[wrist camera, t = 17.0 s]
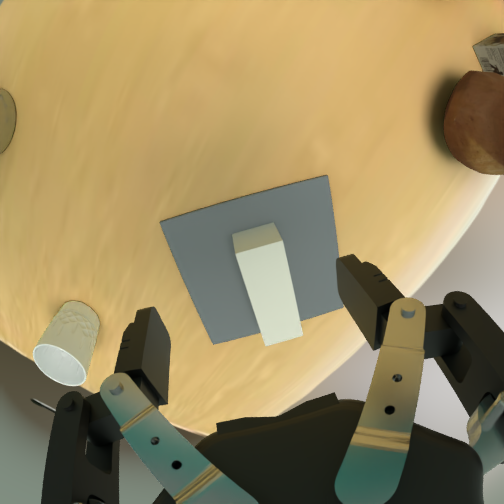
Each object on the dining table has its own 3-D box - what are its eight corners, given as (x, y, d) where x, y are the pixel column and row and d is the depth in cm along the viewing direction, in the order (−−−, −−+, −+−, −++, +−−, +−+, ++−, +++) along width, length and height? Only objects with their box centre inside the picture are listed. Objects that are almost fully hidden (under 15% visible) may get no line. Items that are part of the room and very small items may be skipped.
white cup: (74, 340, 40) (55, 387, 31) (49, 302, 36) (22, 347, 27) (112, 333, 40) (97, 384, 31) (87, 291, 36) (62, 340, 28)
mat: (213, 342, 43) (213, 344, 42) (160, 221, 33) (159, 222, 33) (342, 305, 43) (343, 307, 42) (326, 174, 33) (327, 175, 33)
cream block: (294, 311, 41) (273, 222, 35) (303, 335, 37) (282, 240, 30) (259, 321, 41) (231, 234, 35) (265, 346, 37) (235, 253, 30)
